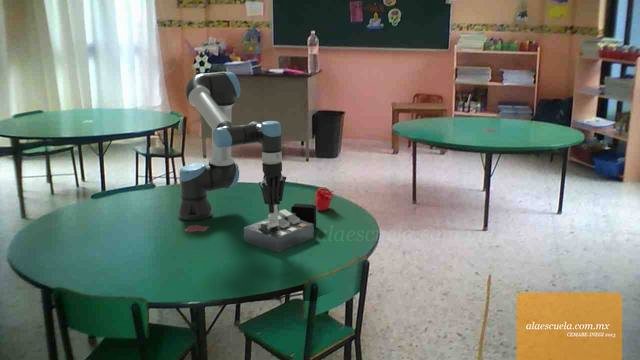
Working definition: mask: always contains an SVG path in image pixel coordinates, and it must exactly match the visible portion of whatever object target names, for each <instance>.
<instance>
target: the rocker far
mask: <svg viewBox="0 0 640 360" xmlns="http://www.w3.org/2000/svg"><path fill="white" fill-rule="evenodd" d="M278 215H280V216H283V215H284V216H287V217H288V221H289V222H291V223H292V224H296V223H299V221H300V218H298V217H297V216H295V215H293V214H292V213H291V212H290V211H288V210H287V209H285V208H284V209H281V210H278Z"/></svg>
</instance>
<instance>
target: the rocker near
mask: <svg viewBox="0 0 640 360" xmlns="http://www.w3.org/2000/svg"><path fill="white" fill-rule="evenodd" d="M262 223H263V224H266V227H275V226H278V225H279V222H278V221H268V222H261V223H258V224H257V225H258V228H261V224H262Z"/></svg>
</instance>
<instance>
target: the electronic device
mask: <svg viewBox="0 0 640 360" xmlns="http://www.w3.org/2000/svg"><path fill="white" fill-rule="evenodd" d="M290 210H291V212H290V213H295V214H296V216H297V217H298V218H300V220H302V221H306V222H309V223H312V224H314V230H315V228H316V227H317V208H316V205H315V204H307V203H294V204H292V205H291V208H290Z"/></svg>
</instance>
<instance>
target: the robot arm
mask: <svg viewBox="0 0 640 360" xmlns="http://www.w3.org/2000/svg"><path fill="white" fill-rule="evenodd" d="M184 93H185V97H186V100H187V101H188V102H189V104H190V105H191V106H192V107H194V108H196V110H197V111H198V112H199V114H200V115H201V116H202V117H203V119H204V121H206V123H207V124H208V126H209V127H210V128H211V157H210V158H209V159H208V165H206V164H205V163H203V162H194V163H189V164H186V165H184V166H182V167H181V168H180V169H179V176H178V179H179V187H180V203H179V208H178V211H177V212H178V213H177V216H178V218H179V219H180V220H184V221H201V220H205V219H208V218H210V217H212V215H213V208H212V206H211V203H210V201H209V198H208V192H211V191H216V190H223V189H229V188H233V187H235V186H236V185H237V184H238V182H239V178H240V170H239V165H238V163H237V162H236V161H235V159H234V158H233V157H232V147H235V146H243V145H244V146H245V145H249V144H257V143H258V144H261V159H262V160H261V161H262V172H263V177H262V178H263V179H262V180H261V181H259V182H258V185H259V187H260V190H261V195H262V198H263V202H264V204H265V205H268V212H269V215H270V220H273V221H277V220H278V213H279V205H280V204H281V203H282V201H283V197H284V190H285V183H286V180H287V176H285V175H283V173H282V172H283V163H282V161H283V155H282V152H283V151H282V127H281V126H282V125H281V123H280V122H279V121H277V120H266V121H263V122H260V121H251V122H249V123H248V124H240V125H234V124H233V123H232V111H233V110H232V107H233V106H234V105H235V104H236V99H238V98H239V97H240V96H241V85H240V82H239V79H238V77H237V76H236V74H235V73H234V72H232V71H216V72H207V73H205V72H204V73H197V74H195V75H194V76H192V77H191V78H190V79H189V80H188V81H187V84H186V85H185V92H184Z"/></svg>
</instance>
